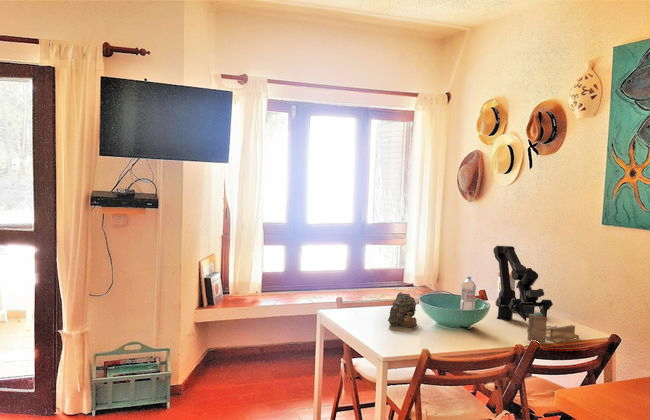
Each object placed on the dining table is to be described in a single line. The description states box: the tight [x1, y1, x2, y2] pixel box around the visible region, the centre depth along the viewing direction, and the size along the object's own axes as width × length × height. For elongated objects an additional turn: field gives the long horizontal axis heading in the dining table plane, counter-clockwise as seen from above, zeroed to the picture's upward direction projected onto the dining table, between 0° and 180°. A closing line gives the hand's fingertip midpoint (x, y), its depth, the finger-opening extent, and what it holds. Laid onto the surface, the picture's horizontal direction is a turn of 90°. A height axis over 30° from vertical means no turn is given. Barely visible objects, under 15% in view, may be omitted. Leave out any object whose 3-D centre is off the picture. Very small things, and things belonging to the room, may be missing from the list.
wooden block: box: [527, 312, 548, 345], centre depth 208 cm, size 6×6×13 cm
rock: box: [387, 291, 418, 328], centre depth 226 cm, size 18×14×15 cm
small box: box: [518, 297, 536, 318], centre depth 252 cm, size 11×6×10 cm, turn 168°
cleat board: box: [526, 324, 580, 343], centre depth 217 cm, size 16×16×6 cm
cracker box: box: [496, 270, 516, 310], centre depth 265 cm, size 14×6×21 cm, turn 174°
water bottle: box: [459, 276, 477, 329], centre depth 226 cm, size 7×7×25 cm
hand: (535, 320), depth 209 cm, fingers open, 9 cm apart
